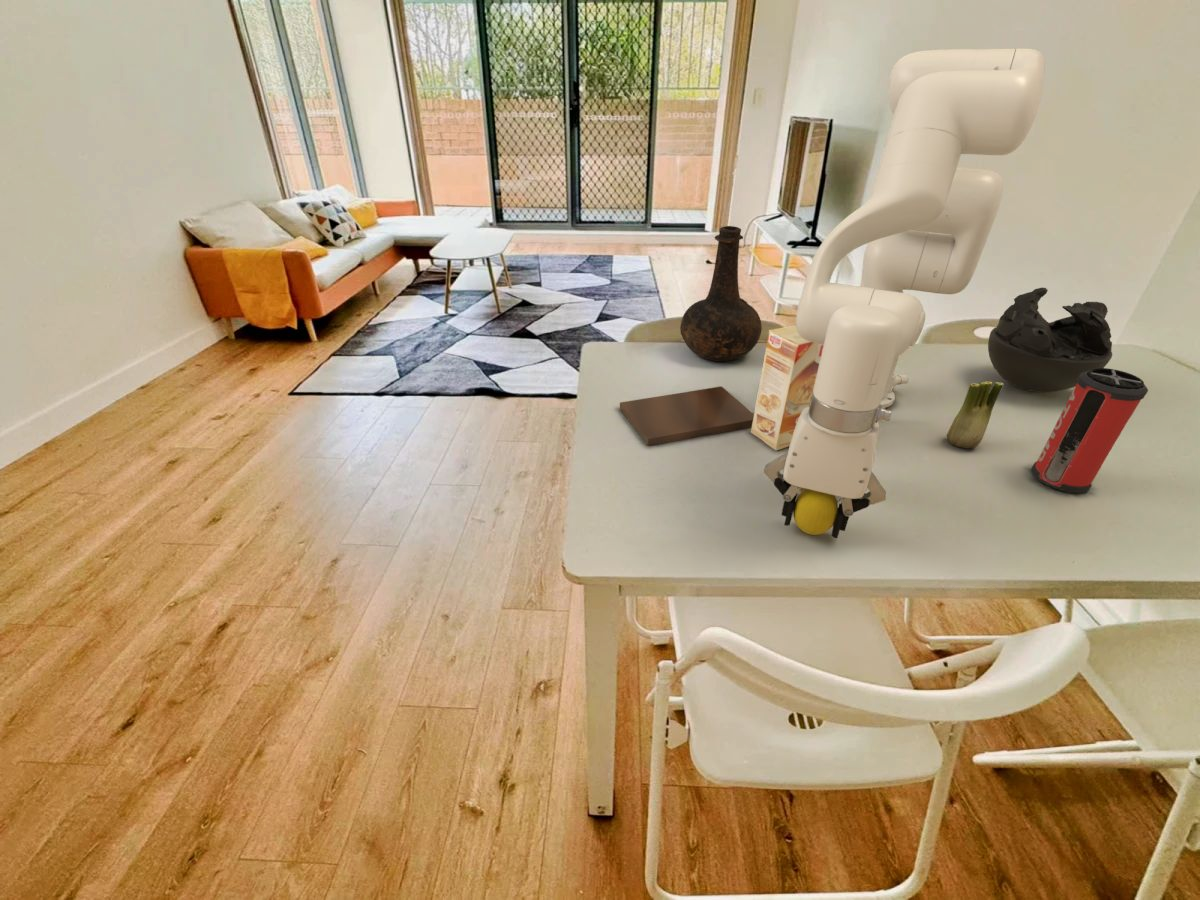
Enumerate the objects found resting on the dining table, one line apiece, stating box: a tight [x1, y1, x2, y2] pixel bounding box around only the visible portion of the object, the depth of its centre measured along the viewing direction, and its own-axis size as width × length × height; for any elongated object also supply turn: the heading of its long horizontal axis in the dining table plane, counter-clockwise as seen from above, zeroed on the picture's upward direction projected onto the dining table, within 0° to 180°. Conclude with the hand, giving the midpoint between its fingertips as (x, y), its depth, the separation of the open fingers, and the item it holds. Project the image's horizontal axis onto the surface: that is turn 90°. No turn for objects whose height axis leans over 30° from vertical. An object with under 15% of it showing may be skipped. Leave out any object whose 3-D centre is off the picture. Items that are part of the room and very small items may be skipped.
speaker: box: [1031, 367, 1149, 494], centre depth 84 cm, size 8×8×18 cm
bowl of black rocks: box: [987, 287, 1113, 393], centre depth 111 cm, size 20×20×19 cm
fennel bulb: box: [946, 381, 1004, 449], centre depth 94 cm, size 6×5×12 cm
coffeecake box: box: [750, 324, 824, 451], centre depth 96 cm, size 15×7×20 cm, turn 117°
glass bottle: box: [679, 225, 763, 362], centre depth 123 cm, size 18×18×28 cm
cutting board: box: [619, 385, 754, 447], centre depth 105 cm, size 22×14×2 cm, turn 109°
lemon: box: [792, 489, 839, 536], centre depth 76 cm, size 6×6×8 cm
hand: (811, 524), depth 77 cm, fingers closed on lemon, 5 cm apart
